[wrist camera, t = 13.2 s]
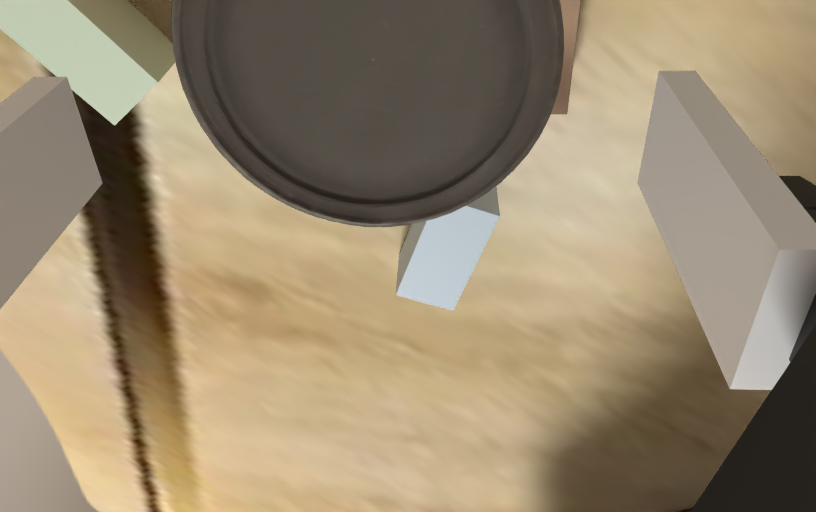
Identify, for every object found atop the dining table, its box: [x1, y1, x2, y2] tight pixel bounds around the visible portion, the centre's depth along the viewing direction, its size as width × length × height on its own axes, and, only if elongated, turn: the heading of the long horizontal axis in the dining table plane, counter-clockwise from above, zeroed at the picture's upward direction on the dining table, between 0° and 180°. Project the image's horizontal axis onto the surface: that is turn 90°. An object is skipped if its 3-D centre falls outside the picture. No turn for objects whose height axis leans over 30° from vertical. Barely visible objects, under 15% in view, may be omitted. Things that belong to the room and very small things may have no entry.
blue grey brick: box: [396, 186, 500, 311], centre depth 39 cm, size 7×4×4 cm, turn 162°
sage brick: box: [0, 0, 176, 126], centre depth 33 cm, size 7×4×4 cm, turn 41°
